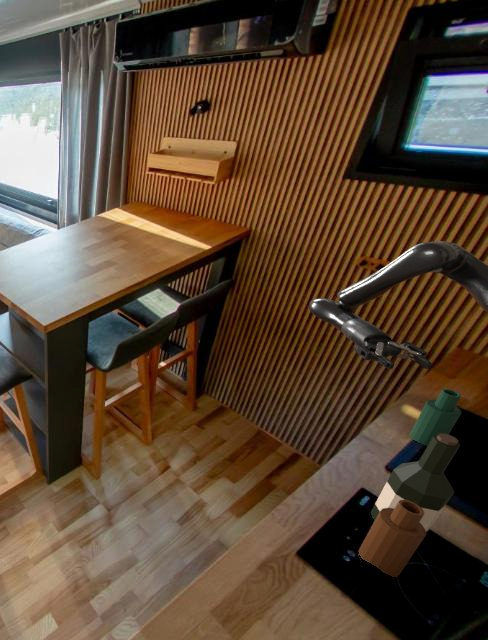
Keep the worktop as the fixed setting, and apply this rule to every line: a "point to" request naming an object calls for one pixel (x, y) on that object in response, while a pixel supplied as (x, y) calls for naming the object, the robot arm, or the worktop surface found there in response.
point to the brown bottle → (394, 537)
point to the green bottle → (437, 417)
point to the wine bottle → (422, 481)
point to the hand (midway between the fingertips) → (410, 366)
